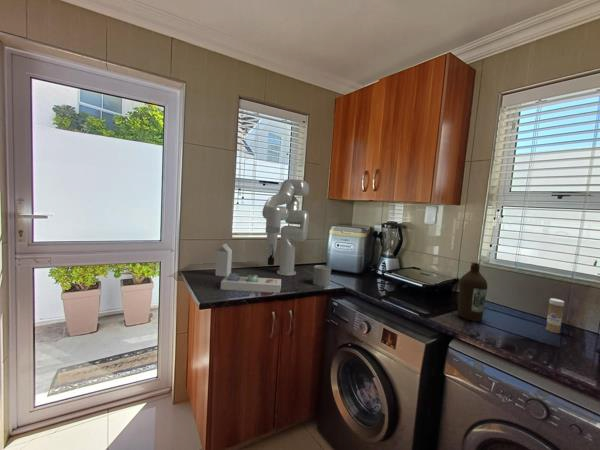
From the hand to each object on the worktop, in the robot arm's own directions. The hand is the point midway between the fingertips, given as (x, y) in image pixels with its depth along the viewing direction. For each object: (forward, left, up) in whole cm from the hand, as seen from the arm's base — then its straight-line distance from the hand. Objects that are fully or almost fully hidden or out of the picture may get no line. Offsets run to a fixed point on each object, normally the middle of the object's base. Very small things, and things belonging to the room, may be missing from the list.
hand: (270, 264), depth 148 cm
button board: (0, -9, -13) cm, 16 cm away
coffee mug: (-18, +30, -13) cm, 37 cm away
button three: (0, -9, -11) cm, 14 cm away
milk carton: (-22, -30, -13) cm, 40 cm away
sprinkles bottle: (+34, +122, -13) cm, 127 cm away
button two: (0, -19, -11) cm, 22 cm away
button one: (0, +1, -13) cm, 13 cm away
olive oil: (+24, +93, -13) cm, 97 cm away
